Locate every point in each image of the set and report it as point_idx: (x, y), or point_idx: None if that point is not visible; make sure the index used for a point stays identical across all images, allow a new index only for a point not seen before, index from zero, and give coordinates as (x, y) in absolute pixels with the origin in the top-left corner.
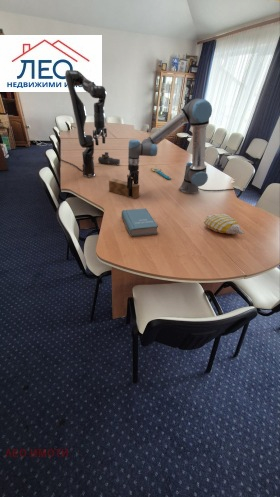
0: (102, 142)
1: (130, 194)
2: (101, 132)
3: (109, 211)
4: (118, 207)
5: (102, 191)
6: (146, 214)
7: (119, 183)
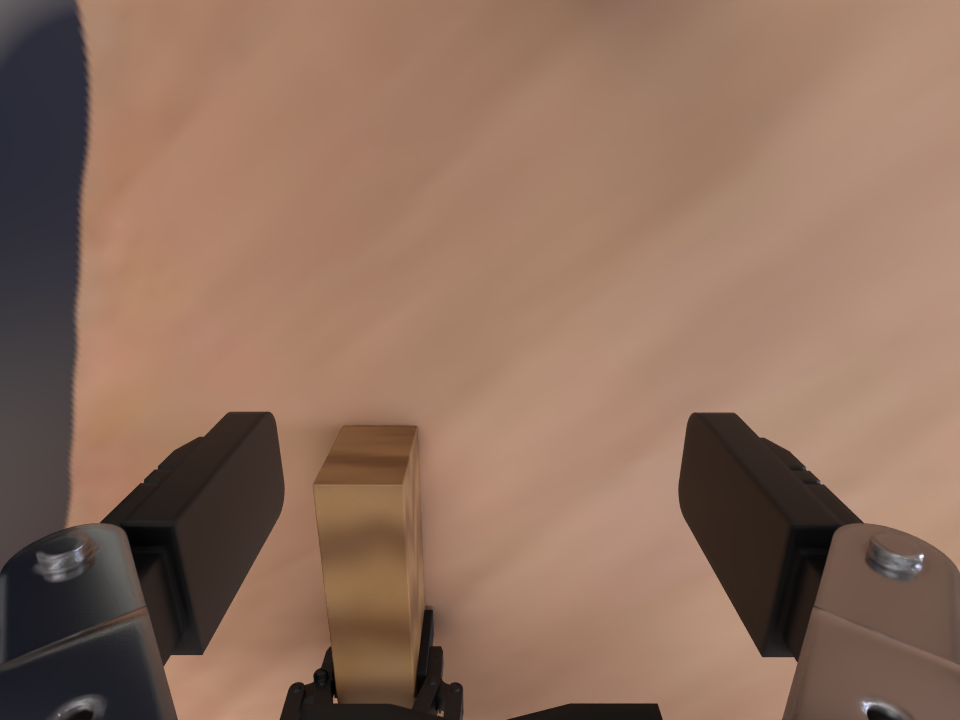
0: (700, 425)
1: None
2: None
3: None
4: None
5: (295, 376)
6: None
7: (326, 598)
